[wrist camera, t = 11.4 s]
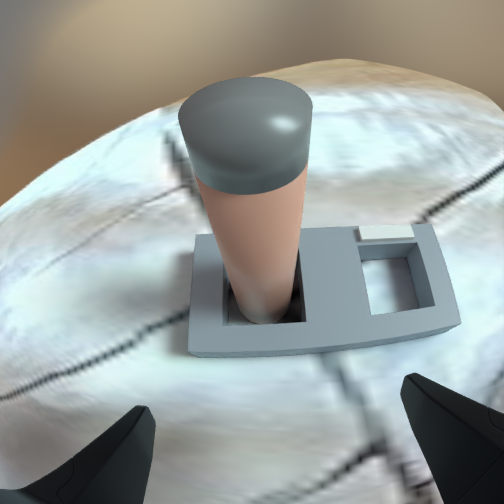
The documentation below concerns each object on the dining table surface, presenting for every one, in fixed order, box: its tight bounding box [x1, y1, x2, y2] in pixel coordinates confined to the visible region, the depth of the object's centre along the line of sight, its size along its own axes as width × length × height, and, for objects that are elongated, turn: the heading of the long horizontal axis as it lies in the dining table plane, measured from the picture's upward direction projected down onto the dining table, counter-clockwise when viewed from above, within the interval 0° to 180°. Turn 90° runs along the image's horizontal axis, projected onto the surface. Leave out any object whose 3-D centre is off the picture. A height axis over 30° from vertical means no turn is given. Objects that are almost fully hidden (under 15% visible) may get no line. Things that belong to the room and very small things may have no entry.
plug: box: [178, 77, 313, 325], centre depth 14 cm, size 4×4×16 cm
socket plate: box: [188, 224, 461, 358], centre depth 20 cm, size 20×9×3 cm, turn 91°
